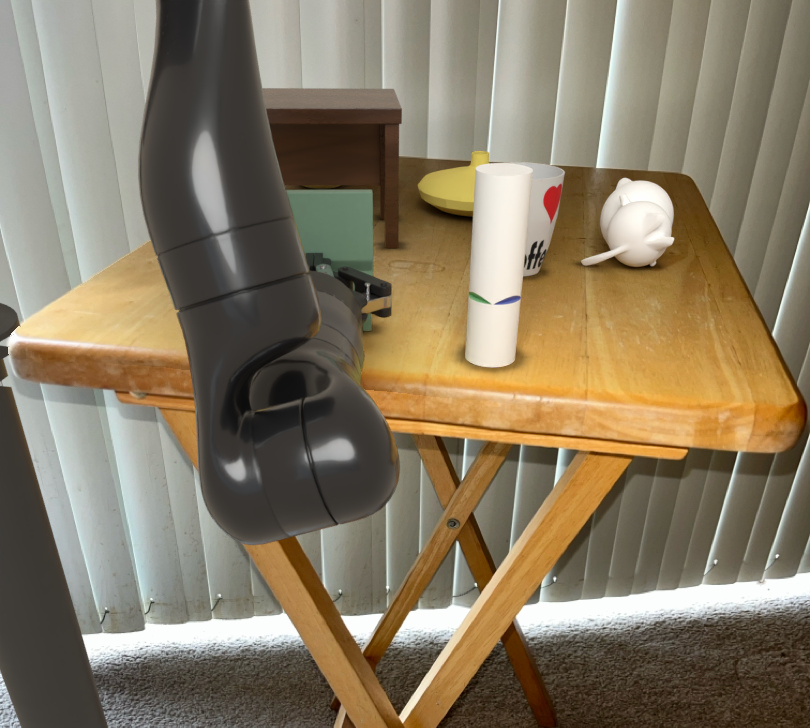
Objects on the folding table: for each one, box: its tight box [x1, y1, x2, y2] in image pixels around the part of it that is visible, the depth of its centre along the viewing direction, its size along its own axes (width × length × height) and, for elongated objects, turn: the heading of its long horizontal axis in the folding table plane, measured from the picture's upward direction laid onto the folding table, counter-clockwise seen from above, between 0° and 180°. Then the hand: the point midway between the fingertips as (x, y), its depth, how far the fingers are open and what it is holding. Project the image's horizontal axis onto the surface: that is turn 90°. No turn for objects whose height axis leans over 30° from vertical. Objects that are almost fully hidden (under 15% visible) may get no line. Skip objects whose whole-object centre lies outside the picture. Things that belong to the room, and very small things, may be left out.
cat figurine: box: [580, 177, 675, 268], centre depth 92 cm, size 9×11×12 cm
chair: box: [286, 189, 374, 332], centre depth 76 cm, size 10×10×12 cm
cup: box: [506, 161, 566, 277], centre depth 88 cm, size 8×8×10 cm
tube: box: [464, 162, 533, 368], centre depth 67 cm, size 4×4×15 cm
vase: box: [417, 150, 490, 217], centre depth 108 cm, size 16×16×7 cm
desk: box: [262, 87, 403, 249], centre depth 97 cm, size 14×18×14 cm
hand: (314, 264), depth 72 cm, fingers closed
